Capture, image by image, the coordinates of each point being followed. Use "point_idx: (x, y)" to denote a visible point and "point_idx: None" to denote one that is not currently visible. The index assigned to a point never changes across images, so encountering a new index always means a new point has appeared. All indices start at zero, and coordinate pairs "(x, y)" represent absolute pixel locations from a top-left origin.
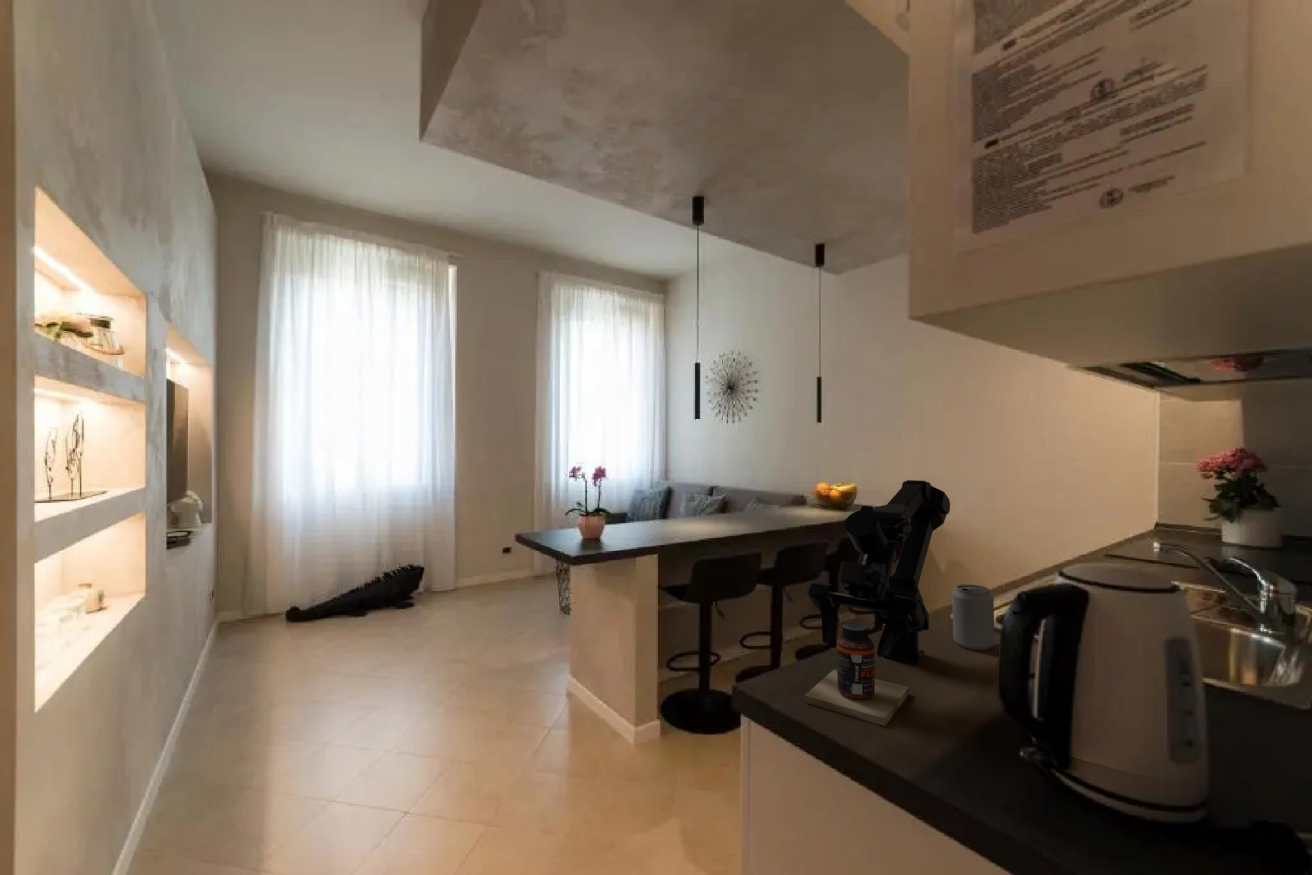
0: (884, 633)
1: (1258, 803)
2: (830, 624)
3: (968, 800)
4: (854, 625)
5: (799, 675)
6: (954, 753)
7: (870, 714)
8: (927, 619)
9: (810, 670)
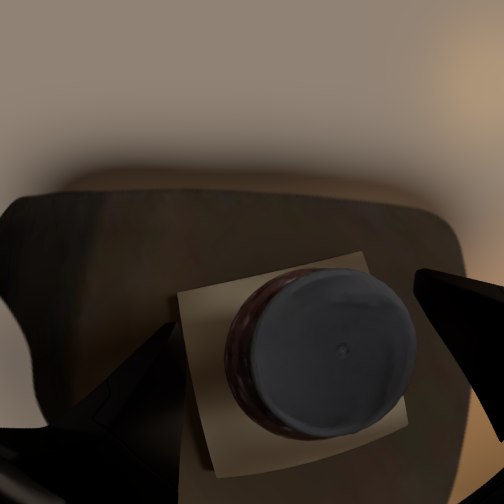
0: (127, 381)
1: None
2: (474, 337)
3: (55, 211)
4: (349, 357)
5: (445, 350)
6: (73, 297)
7: (207, 286)
8: None
9: (446, 390)
